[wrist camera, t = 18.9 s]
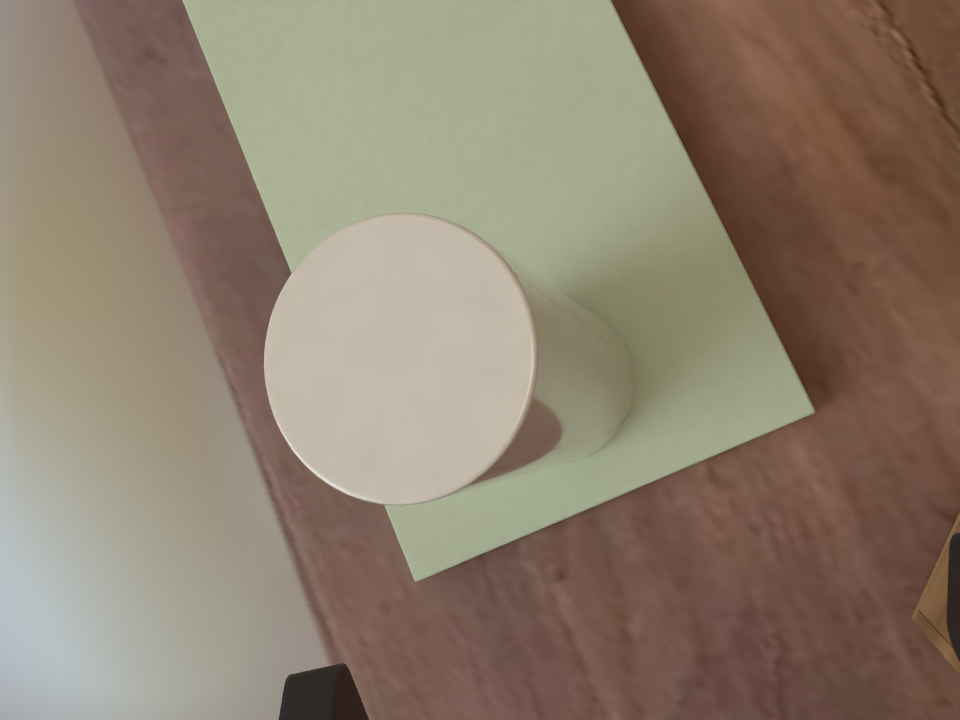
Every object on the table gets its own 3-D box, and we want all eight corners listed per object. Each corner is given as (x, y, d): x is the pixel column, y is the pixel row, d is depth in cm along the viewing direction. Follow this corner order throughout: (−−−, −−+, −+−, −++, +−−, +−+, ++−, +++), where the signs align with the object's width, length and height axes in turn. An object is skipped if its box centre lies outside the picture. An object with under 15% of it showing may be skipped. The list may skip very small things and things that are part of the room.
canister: (640, 309, 24) (549, 214, 13) (628, 470, 24) (524, 523, 13) (485, 301, 25) (274, 207, 14) (473, 454, 25) (249, 488, 14)
